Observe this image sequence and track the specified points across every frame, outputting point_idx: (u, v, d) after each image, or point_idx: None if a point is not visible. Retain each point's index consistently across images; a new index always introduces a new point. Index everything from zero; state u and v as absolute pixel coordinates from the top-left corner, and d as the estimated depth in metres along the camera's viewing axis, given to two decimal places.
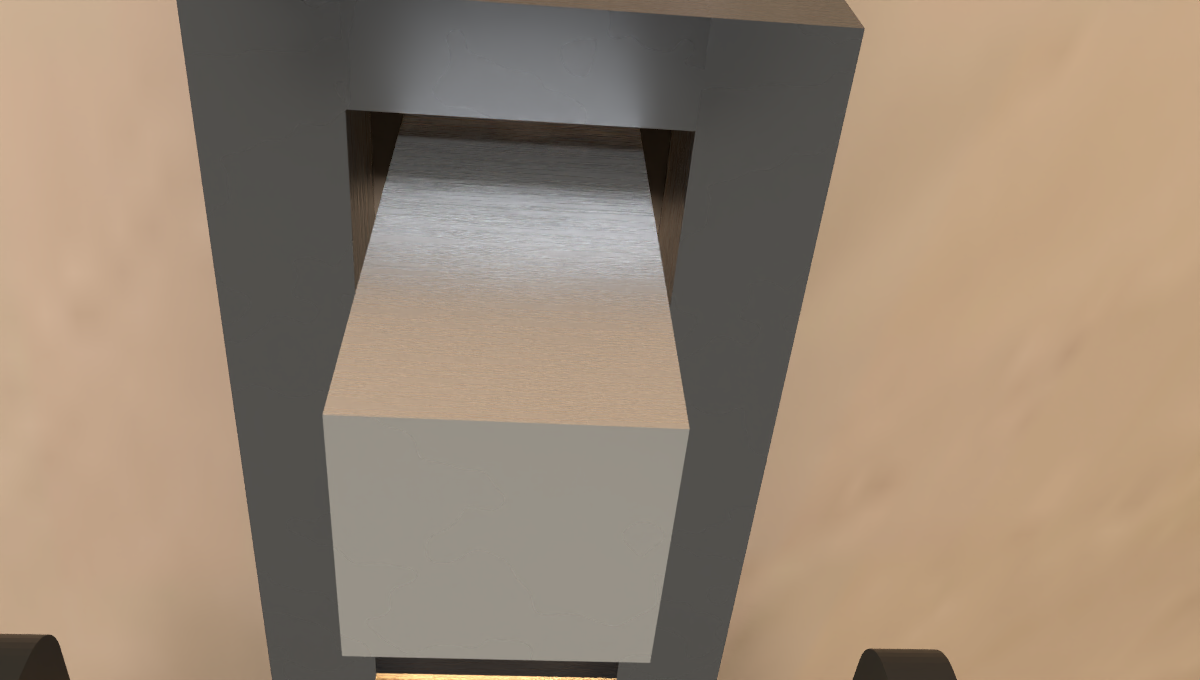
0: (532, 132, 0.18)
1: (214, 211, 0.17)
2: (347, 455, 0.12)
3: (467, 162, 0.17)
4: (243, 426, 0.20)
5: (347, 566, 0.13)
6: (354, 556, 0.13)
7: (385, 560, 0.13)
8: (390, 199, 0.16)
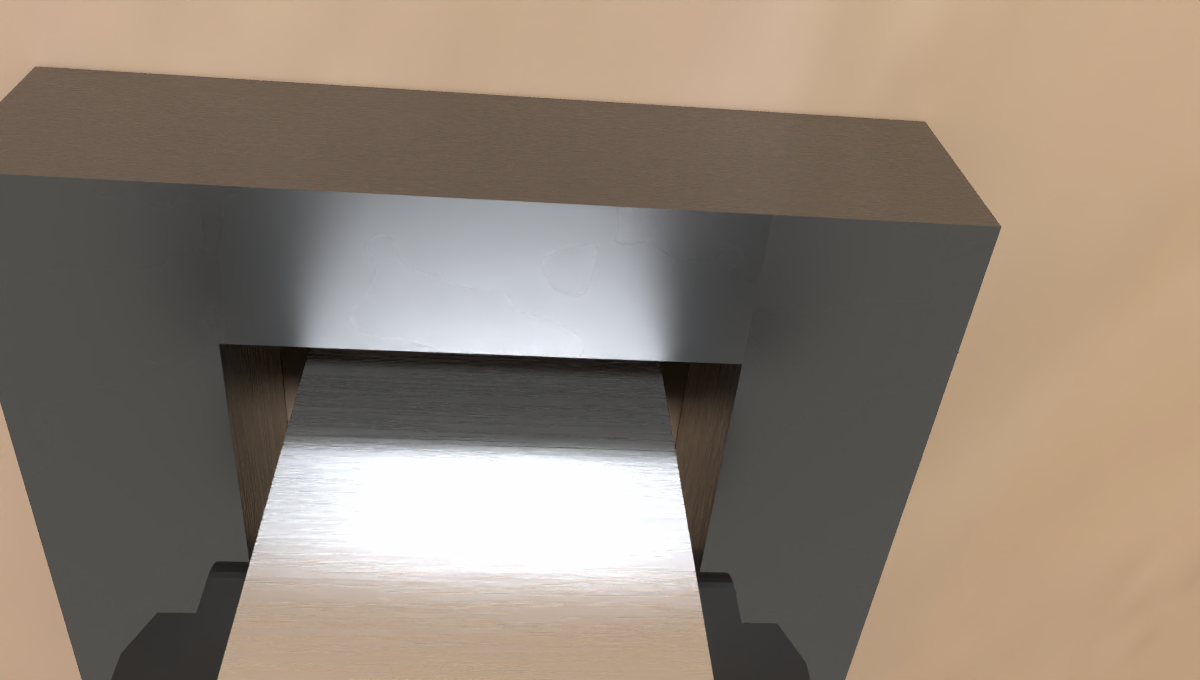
0: None
1: (35, 477, 0.12)
2: None
3: (405, 415, 0.11)
4: None
5: None
6: None
7: None
8: (281, 501, 0.10)
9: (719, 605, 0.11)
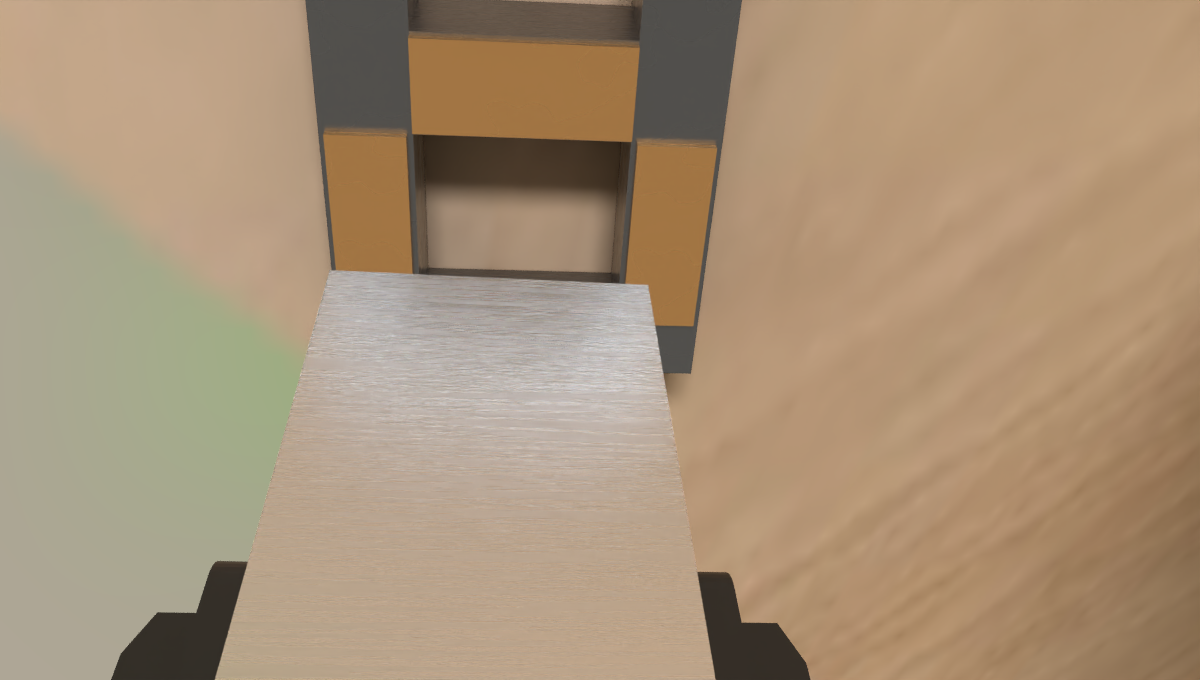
0: (503, 341, 0.13)
1: None
2: None
3: (405, 410, 0.11)
4: None
5: None
6: None
7: None
8: (281, 496, 0.10)
9: (719, 605, 0.11)
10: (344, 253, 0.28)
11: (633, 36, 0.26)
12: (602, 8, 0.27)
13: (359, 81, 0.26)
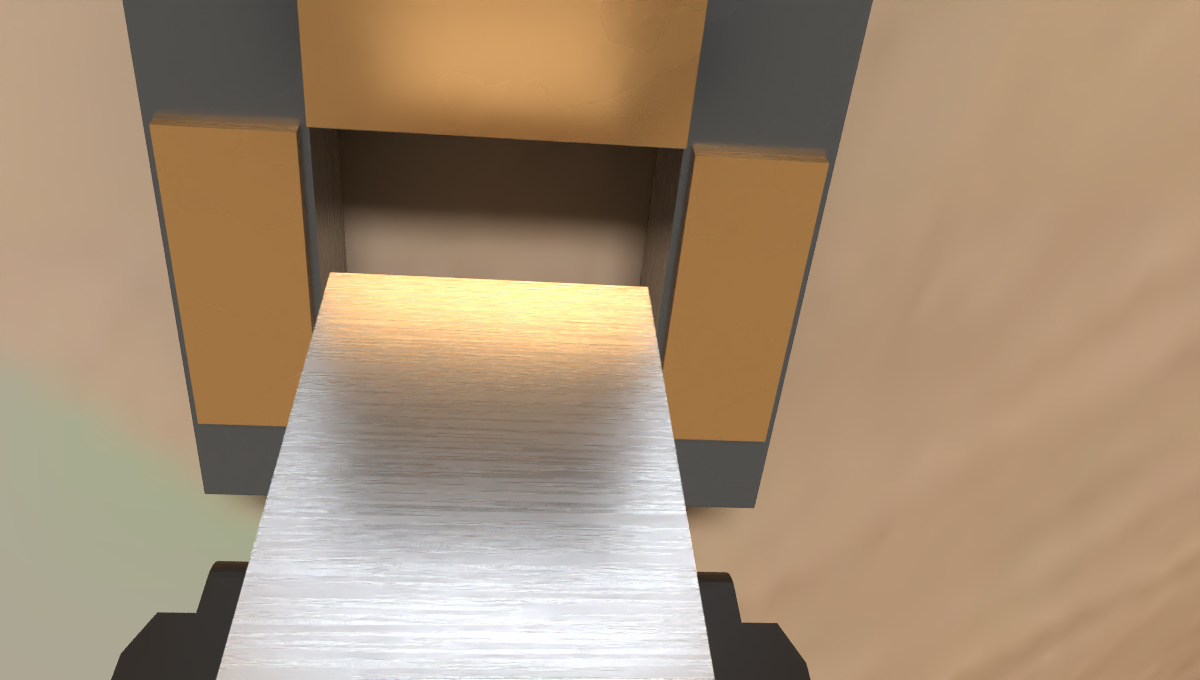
0: (503, 344, 0.13)
1: None
2: None
3: (405, 412, 0.11)
4: None
5: None
6: None
7: None
8: (281, 498, 0.10)
9: (719, 605, 0.11)
10: (198, 323, 0.17)
11: None
12: None
13: (210, 31, 0.14)
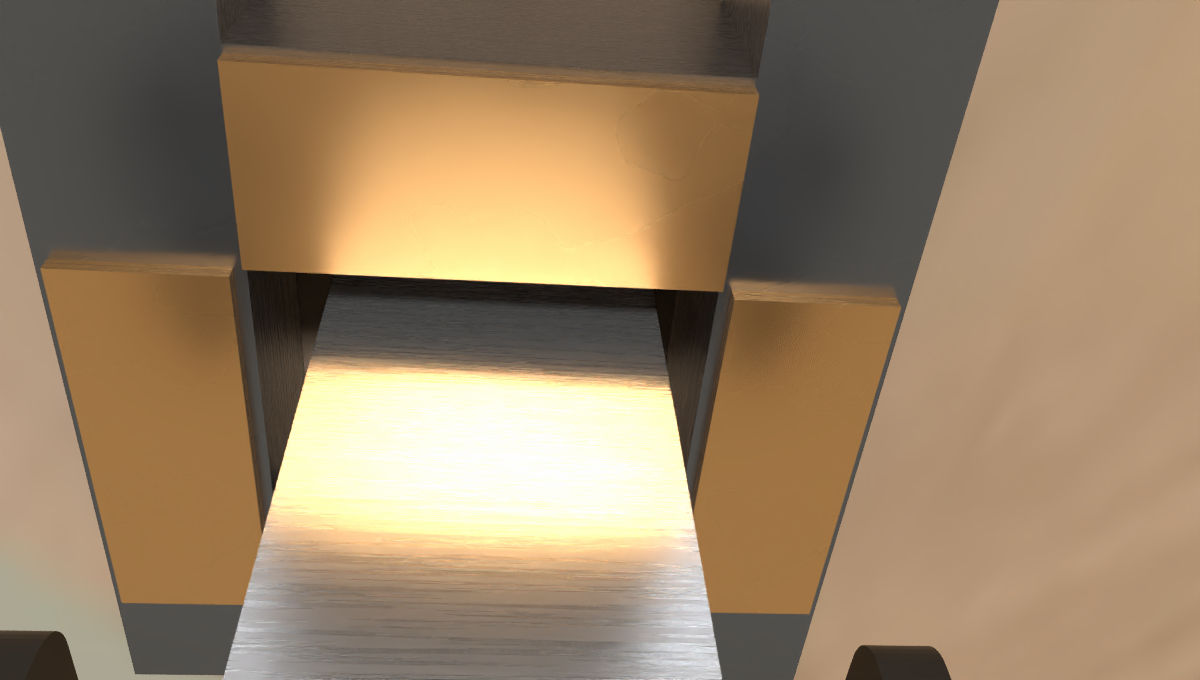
0: None
1: None
2: None
3: (422, 330, 0.13)
4: None
5: None
6: None
7: None
8: (313, 397, 0.11)
9: None
10: (116, 494, 0.14)
11: (741, 67, 0.11)
12: (662, 3, 0.13)
13: (114, 155, 0.11)
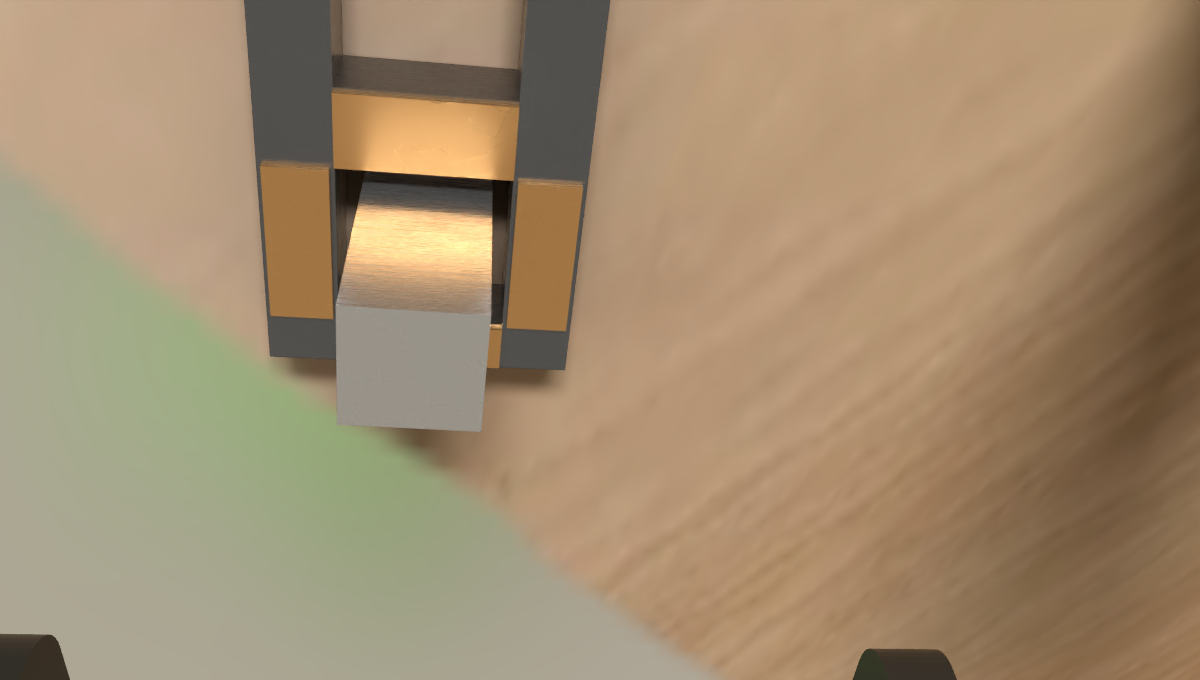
0: (435, 177, 0.34)
1: None
2: (345, 324, 0.28)
3: (399, 194, 0.33)
4: None
5: (342, 377, 0.29)
6: (345, 372, 0.29)
7: (359, 375, 0.29)
8: (361, 212, 0.32)
9: None
10: (275, 262, 0.34)
11: (515, 97, 0.32)
12: (493, 71, 0.34)
13: (291, 125, 0.32)
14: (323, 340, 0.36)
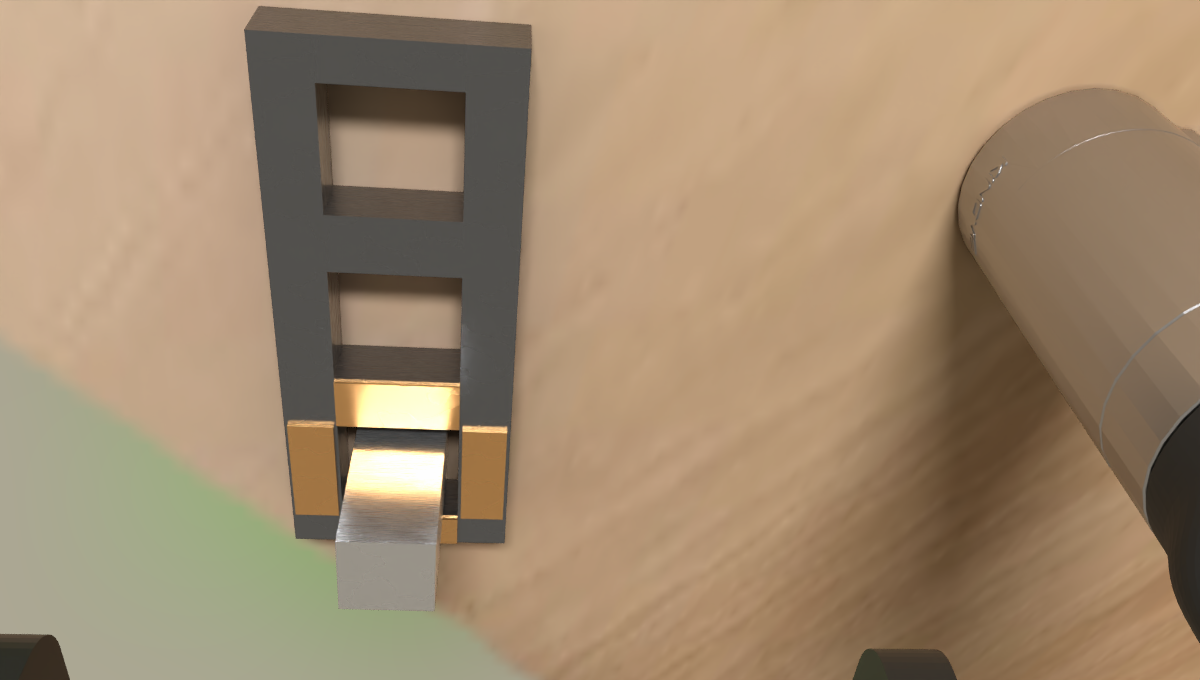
0: None
1: (258, 128, 0.40)
2: (341, 552, 0.44)
3: (381, 439, 0.48)
4: (268, 233, 0.42)
5: (340, 581, 0.45)
6: (343, 578, 0.44)
7: (352, 580, 0.45)
8: (354, 458, 0.47)
9: None
10: (298, 482, 0.50)
11: (457, 379, 0.47)
12: (445, 352, 0.49)
13: (307, 400, 0.47)
14: (332, 527, 0.52)
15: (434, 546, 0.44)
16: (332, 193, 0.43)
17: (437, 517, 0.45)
